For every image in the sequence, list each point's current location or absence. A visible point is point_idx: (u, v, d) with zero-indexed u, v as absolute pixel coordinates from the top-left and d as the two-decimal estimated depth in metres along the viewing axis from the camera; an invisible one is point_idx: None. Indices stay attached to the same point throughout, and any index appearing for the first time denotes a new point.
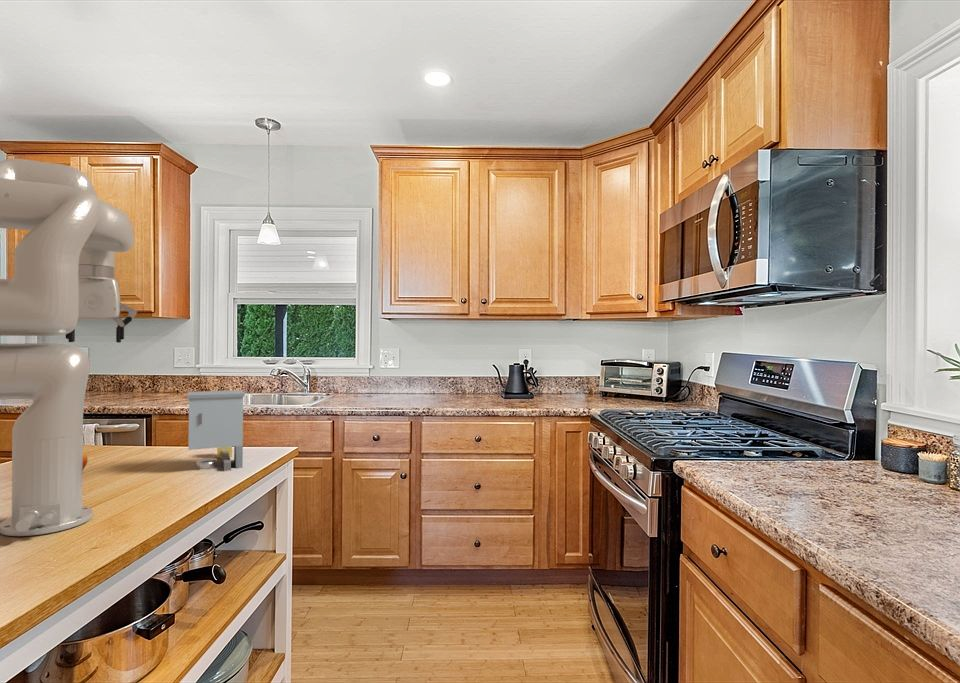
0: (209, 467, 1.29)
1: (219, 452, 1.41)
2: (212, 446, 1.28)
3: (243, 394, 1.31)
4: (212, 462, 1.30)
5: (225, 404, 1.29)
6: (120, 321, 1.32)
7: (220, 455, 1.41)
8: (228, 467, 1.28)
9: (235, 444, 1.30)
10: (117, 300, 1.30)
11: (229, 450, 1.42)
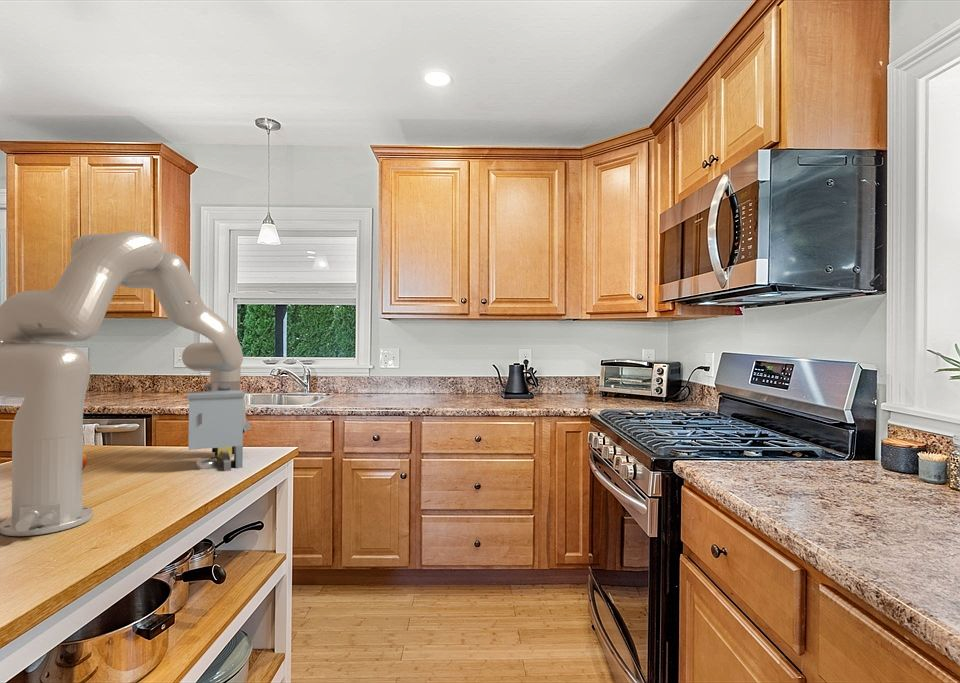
0: (209, 467, 1.29)
1: (219, 452, 1.41)
2: (212, 446, 1.28)
3: (243, 394, 1.31)
4: (212, 462, 1.30)
5: (225, 404, 1.29)
6: None
7: (220, 455, 1.41)
8: (228, 467, 1.28)
9: (235, 444, 1.30)
10: (244, 411, 1.43)
11: (229, 450, 1.42)
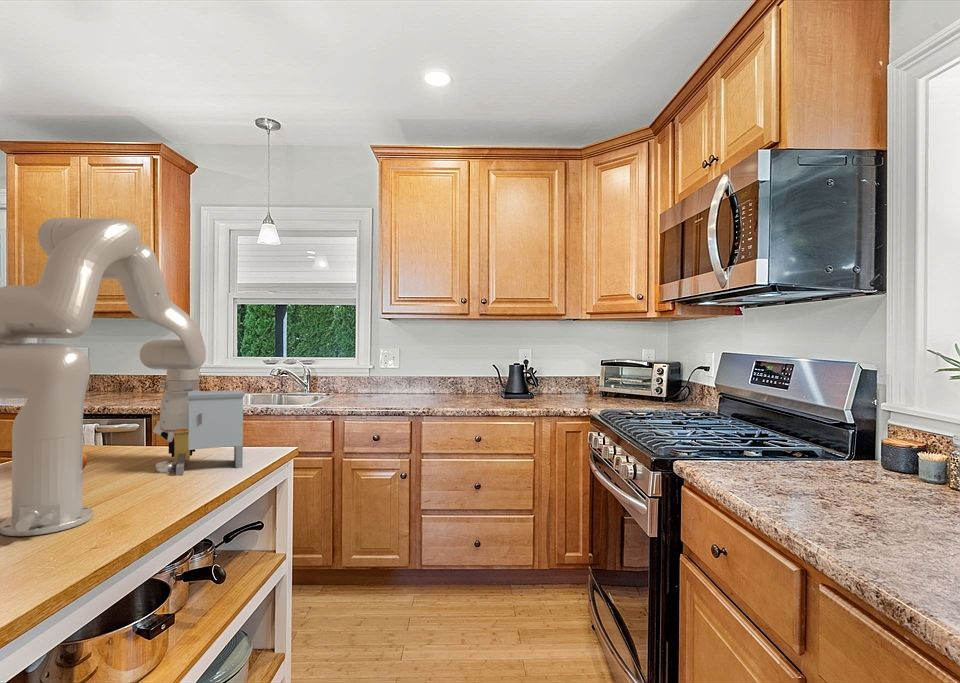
0: (168, 470, 1.25)
1: (176, 455, 1.36)
2: (212, 446, 1.28)
3: (243, 394, 1.31)
4: (172, 465, 1.26)
5: (225, 404, 1.29)
6: None
7: (177, 458, 1.36)
8: (180, 471, 1.23)
9: (235, 444, 1.30)
10: None
11: (187, 453, 1.37)
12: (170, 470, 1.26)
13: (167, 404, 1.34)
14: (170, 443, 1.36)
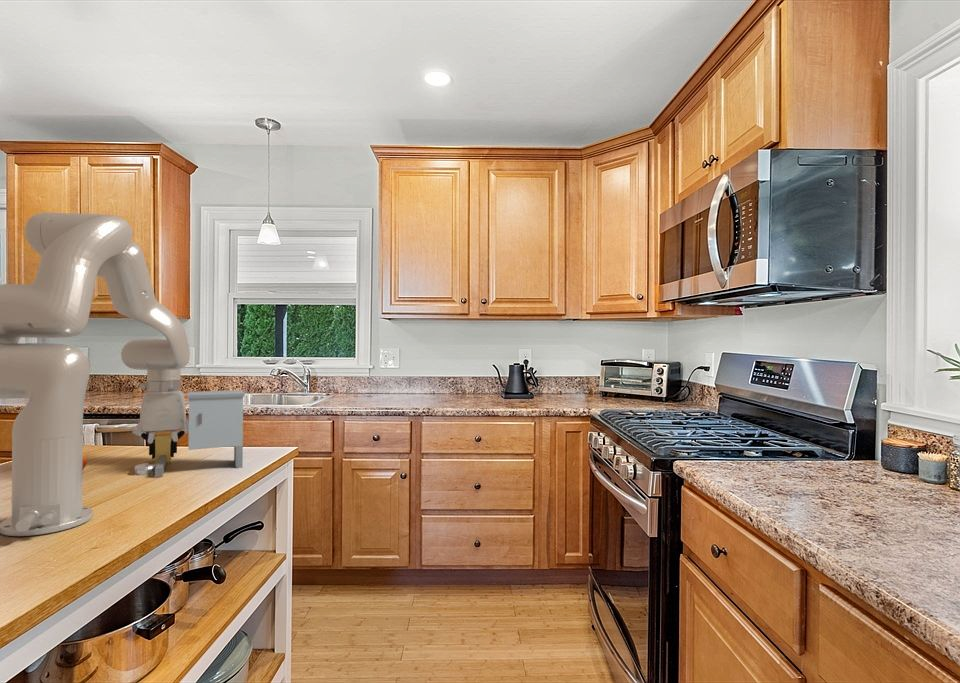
0: (148, 472, 1.23)
1: (156, 457, 1.34)
2: (212, 446, 1.28)
3: (243, 394, 1.31)
4: (151, 467, 1.24)
5: (225, 404, 1.29)
6: (176, 436, 1.36)
7: (157, 460, 1.34)
8: (159, 473, 1.21)
9: (235, 444, 1.30)
10: (184, 412, 1.36)
11: (167, 455, 1.35)
12: (149, 472, 1.24)
13: (147, 404, 1.32)
14: (150, 444, 1.34)
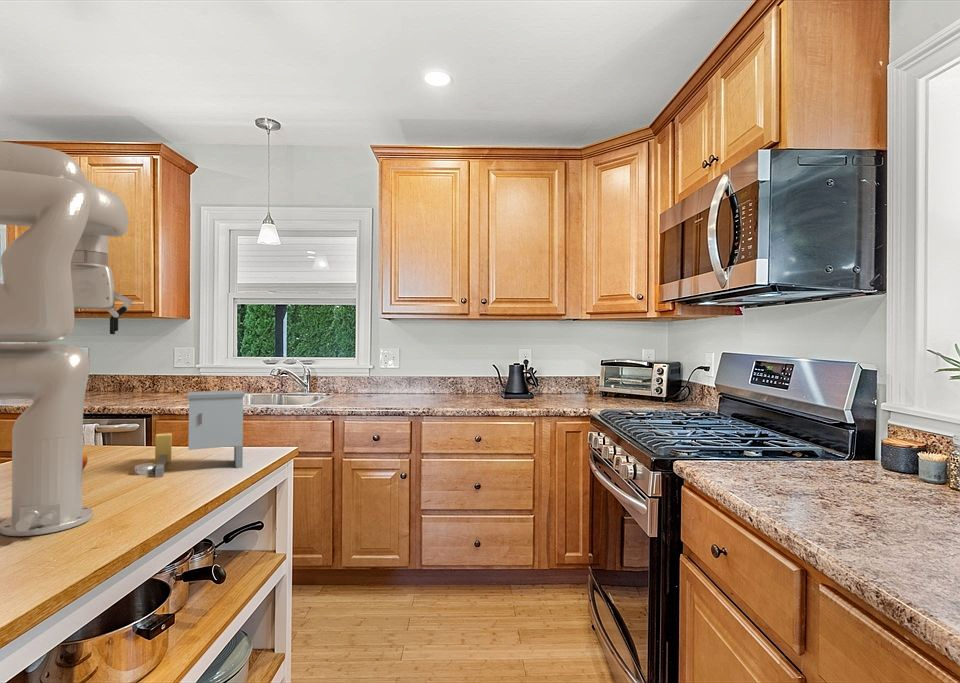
0: (148, 473, 1.23)
1: (157, 457, 1.34)
2: (212, 446, 1.28)
3: (243, 394, 1.31)
4: (151, 467, 1.24)
5: (225, 404, 1.29)
6: (114, 311, 1.23)
7: (158, 460, 1.34)
8: (159, 473, 1.22)
9: (235, 444, 1.30)
10: (111, 289, 1.22)
11: (168, 455, 1.35)
12: (149, 472, 1.24)
13: None
14: None
